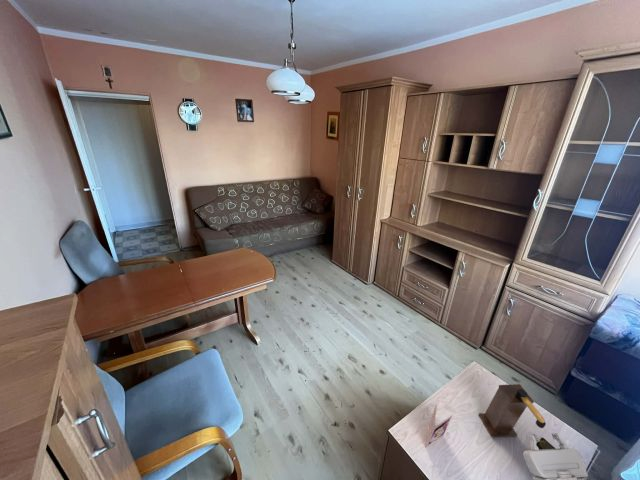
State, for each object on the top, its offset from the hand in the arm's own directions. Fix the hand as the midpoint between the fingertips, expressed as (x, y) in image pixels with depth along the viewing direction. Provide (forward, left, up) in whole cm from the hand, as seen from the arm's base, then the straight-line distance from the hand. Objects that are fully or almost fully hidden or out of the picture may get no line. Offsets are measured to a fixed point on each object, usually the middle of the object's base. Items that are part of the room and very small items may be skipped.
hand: (543, 434), depth 100 cm
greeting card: (+13, +34, -23) cm, 43 cm away
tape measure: (+4, -15, -23) cm, 27 cm away
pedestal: (+15, 0, -22) cm, 27 cm away
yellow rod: (+8, 0, +1) cm, 8 cm away
